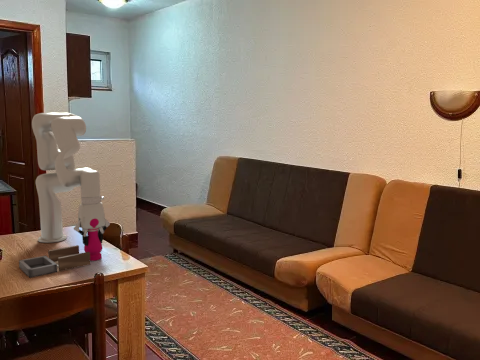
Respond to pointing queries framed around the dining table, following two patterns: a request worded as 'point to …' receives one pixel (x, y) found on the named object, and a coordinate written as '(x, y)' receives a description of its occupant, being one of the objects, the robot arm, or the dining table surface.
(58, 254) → the walled lane
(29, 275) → the tray
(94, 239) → the pepper mill
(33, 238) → the dining table surface
